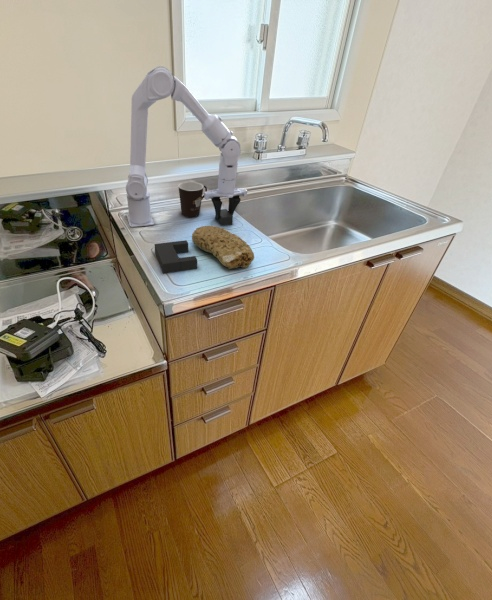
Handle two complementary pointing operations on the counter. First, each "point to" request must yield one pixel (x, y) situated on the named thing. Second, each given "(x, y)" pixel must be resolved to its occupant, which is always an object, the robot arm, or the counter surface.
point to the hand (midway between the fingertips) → (223, 217)
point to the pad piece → (225, 217)
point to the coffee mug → (191, 198)
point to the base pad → (174, 257)
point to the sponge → (223, 246)
